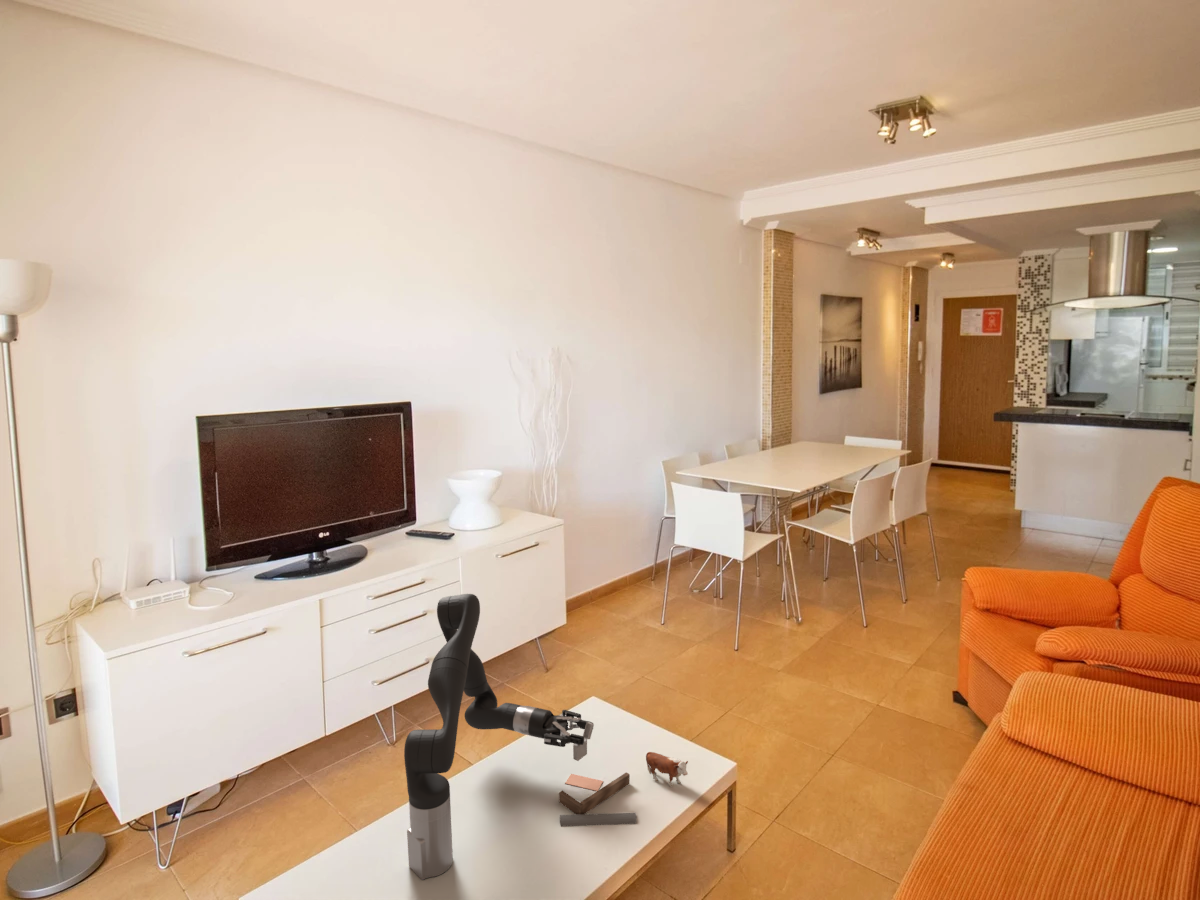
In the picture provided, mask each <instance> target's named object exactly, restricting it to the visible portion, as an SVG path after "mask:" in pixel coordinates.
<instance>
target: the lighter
mask: <svg viewBox="0 0 1200 900" xmlns="http://www.w3.org/2000/svg"><path fill="white" fill-rule="evenodd" d="M590 722H591V721H589V722H587V723H586V726H585V729H583V734H582V736H583V737H584V744H583V745H578V744H574V743H572V747H573V749H572V750H573V751H572V752H573V755H572V756H573V758H572V759H573V760H574V761H575V762H576V761H577V762H579V761H580V760H581V759H582V758H584V757H585V756H587V755H588V740H591V738H592V733H593V730H594V728H595V727H594V726H595V724H594V723H593V722H592V723H593V724H592V723H590Z"/></svg>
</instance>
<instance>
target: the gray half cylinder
mask: <svg viewBox="0 0 1200 900" xmlns="http://www.w3.org/2000/svg"><path fill="white" fill-rule="evenodd" d="M559 824H560V825H559V826H560V827H561V828H562V827H564V828H565V827H588V826H591V827H592V826H617V825H618V826H619V825H621V826H622V825H636V824H637V813H636V812H615V813H614V812H611V813H609V812H608V813H605V812H604V813H586V814H574V813H573V814H560V815H559Z"/></svg>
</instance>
